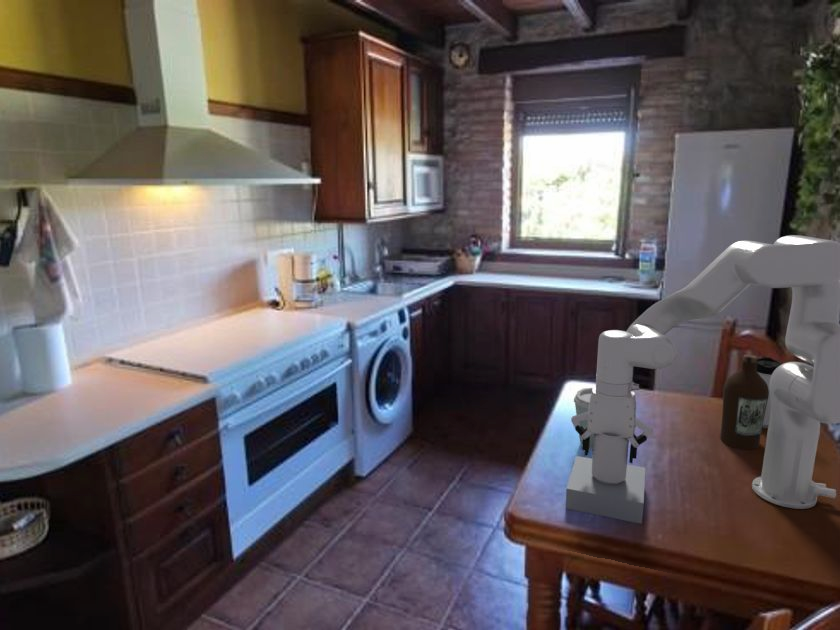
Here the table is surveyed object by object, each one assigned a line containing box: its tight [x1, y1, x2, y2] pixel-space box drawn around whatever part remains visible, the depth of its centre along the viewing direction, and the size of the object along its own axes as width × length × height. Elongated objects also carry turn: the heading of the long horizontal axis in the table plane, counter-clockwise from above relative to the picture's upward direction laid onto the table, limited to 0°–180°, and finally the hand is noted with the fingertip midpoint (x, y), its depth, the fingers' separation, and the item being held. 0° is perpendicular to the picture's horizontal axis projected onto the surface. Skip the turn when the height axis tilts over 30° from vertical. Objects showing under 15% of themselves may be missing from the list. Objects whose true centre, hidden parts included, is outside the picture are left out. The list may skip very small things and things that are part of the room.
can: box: [591, 433, 630, 485], centre depth 126 cm, size 8×8×12 cm
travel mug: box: [756, 356, 782, 429], centre depth 162 cm, size 6×7×20 cm
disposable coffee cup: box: [573, 387, 595, 450], centre depth 152 cm, size 11×11×15 cm
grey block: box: [565, 455, 646, 525], centre depth 128 cm, size 16×16×5 cm
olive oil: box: [719, 354, 769, 450], centre depth 151 cm, size 11×11×25 cm
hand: (608, 456), depth 126 cm, fingers open, 9 cm apart
